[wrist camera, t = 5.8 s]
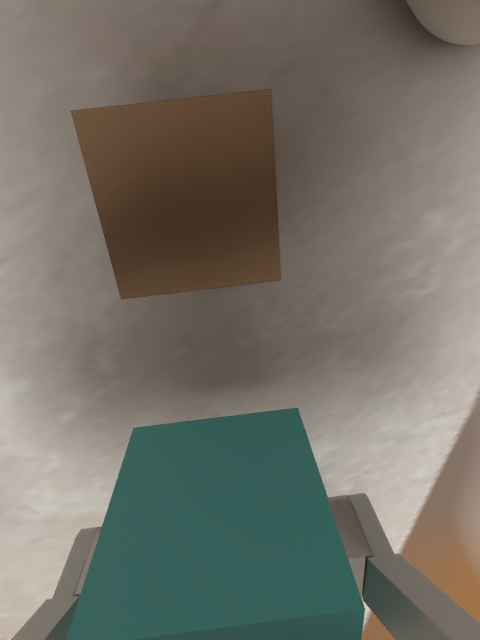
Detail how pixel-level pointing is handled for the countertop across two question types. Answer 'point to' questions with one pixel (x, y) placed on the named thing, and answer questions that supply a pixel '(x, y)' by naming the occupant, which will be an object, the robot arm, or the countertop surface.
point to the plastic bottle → (450, 19)
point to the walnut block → (185, 191)
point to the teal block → (220, 539)
